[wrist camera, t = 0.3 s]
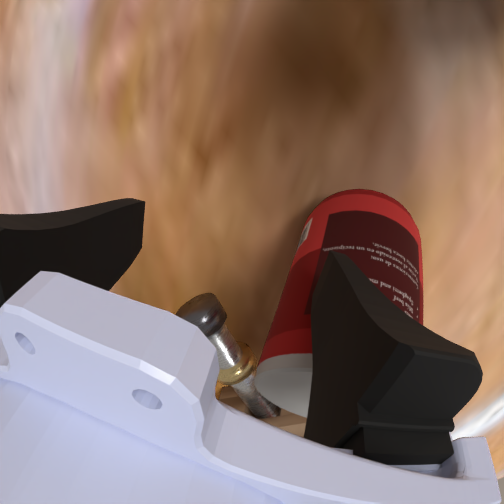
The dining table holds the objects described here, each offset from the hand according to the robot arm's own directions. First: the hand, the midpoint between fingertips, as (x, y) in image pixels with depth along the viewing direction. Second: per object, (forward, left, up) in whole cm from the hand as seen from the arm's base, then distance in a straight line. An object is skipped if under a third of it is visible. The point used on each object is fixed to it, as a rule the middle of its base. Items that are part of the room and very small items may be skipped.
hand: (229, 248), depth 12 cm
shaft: (-12, +7, -9) cm, 17 cm away
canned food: (-5, -5, -9) cm, 11 cm away
